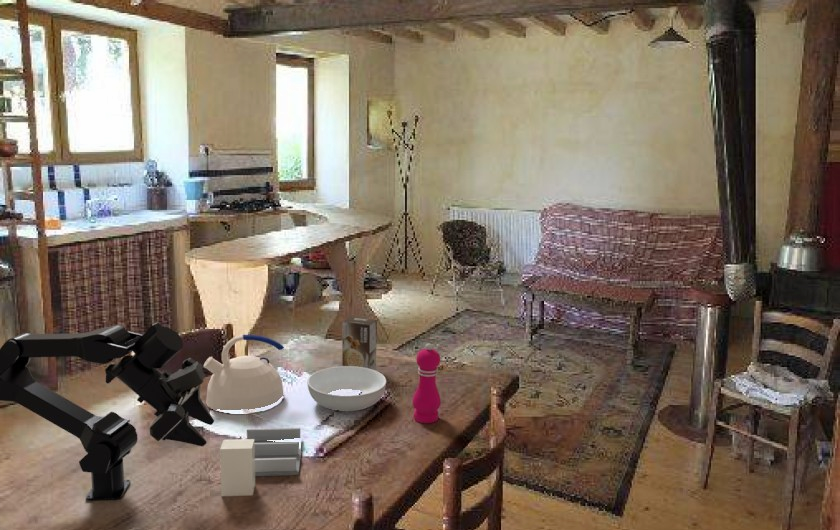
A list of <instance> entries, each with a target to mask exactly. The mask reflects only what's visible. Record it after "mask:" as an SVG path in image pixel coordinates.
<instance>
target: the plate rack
mask: <svg viewBox="0 0 840 530" xmlns="http://www.w3.org/2000/svg"><path fill="white" fill-rule="evenodd" d="M294 438H301V427H281V428H280V427H275V428H274V427H273V428H271V427H270V428H247V429H246V439H255V477H269V476H271V477H272V476H273V477H274V476H277V477H278V476H299V474H300V467H301V466H300V465H301V460H302V459H301V457H302V451H301V450H300V449H299V442H275V441H274V442H273V441H267V440H281V439H282V440H284V439H294Z"/></svg>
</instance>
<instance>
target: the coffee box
mask: <svg viewBox="0 0 840 530" xmlns="http://www.w3.org/2000/svg"><path fill="white" fill-rule="evenodd" d="M377 324H378V320H377V319H370V318H363V317H354V316H349V317H347V318H346V319H344V320H343V322H342V329H341V330H342V336H341V337H342V341H341V342H342V343H341V344H342V348H341V349H342V358H341V359H342V364H341V366H355V367H363V368H368V369H372V370H375V371H377V326H378V325H377Z"/></svg>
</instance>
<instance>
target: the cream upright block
mask: <svg viewBox="0 0 840 530" xmlns="http://www.w3.org/2000/svg"><path fill="white" fill-rule="evenodd" d="M219 454H220V456H219V458H220V459H219V461H220V462H219V463H220V464H219V465H220V488H221V489H220V493H221V495H220V496H221V497H238V496H239V497H240V496H253V495H254V492H255V491H254V490H255V488H256V476H255V439H247V438H244V439H242V438H241V439H240V438H239V439H223V441H222V443H221V446H220V449H219Z"/></svg>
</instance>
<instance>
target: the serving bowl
mask: <svg viewBox="0 0 840 530" xmlns="http://www.w3.org/2000/svg"><path fill="white" fill-rule="evenodd" d="M306 383H307V389H308V391H309V395H310V396H311V398H312V399H313V400H314V401H315V402H316V403H317V404H318V405H320V406H322V407H323V408H326V409H328V408H329V410H332V409H333V411H337V410H339V411H340V412H353V411H354V410H356V411H360V409H361V410H364V408H365V409H368V408H370V407H372V406H373V405H375V404H376V403H378V402H379V400H380V399H381V398H382V397H383V395H384V393H385V391H386V386H387V378H386V377H385V376H384V374H383V373H381V372H379V371H378V370H376V371H375V370H372V369H368V368H363V367H355V366H342V365H340V366H332V367H327V368H323V369H320V370H317V371H315V372H313V373H312V374H310V376H308V379H307V382H306ZM339 389H340V390H341V389H352V390H360V391H361V392H363V393H364V394H361V395H352V396H340V395H332V394H328V393H330V392H332V391H336V390H339ZM367 407H368V408H367ZM354 412H355V411H354Z"/></svg>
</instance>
